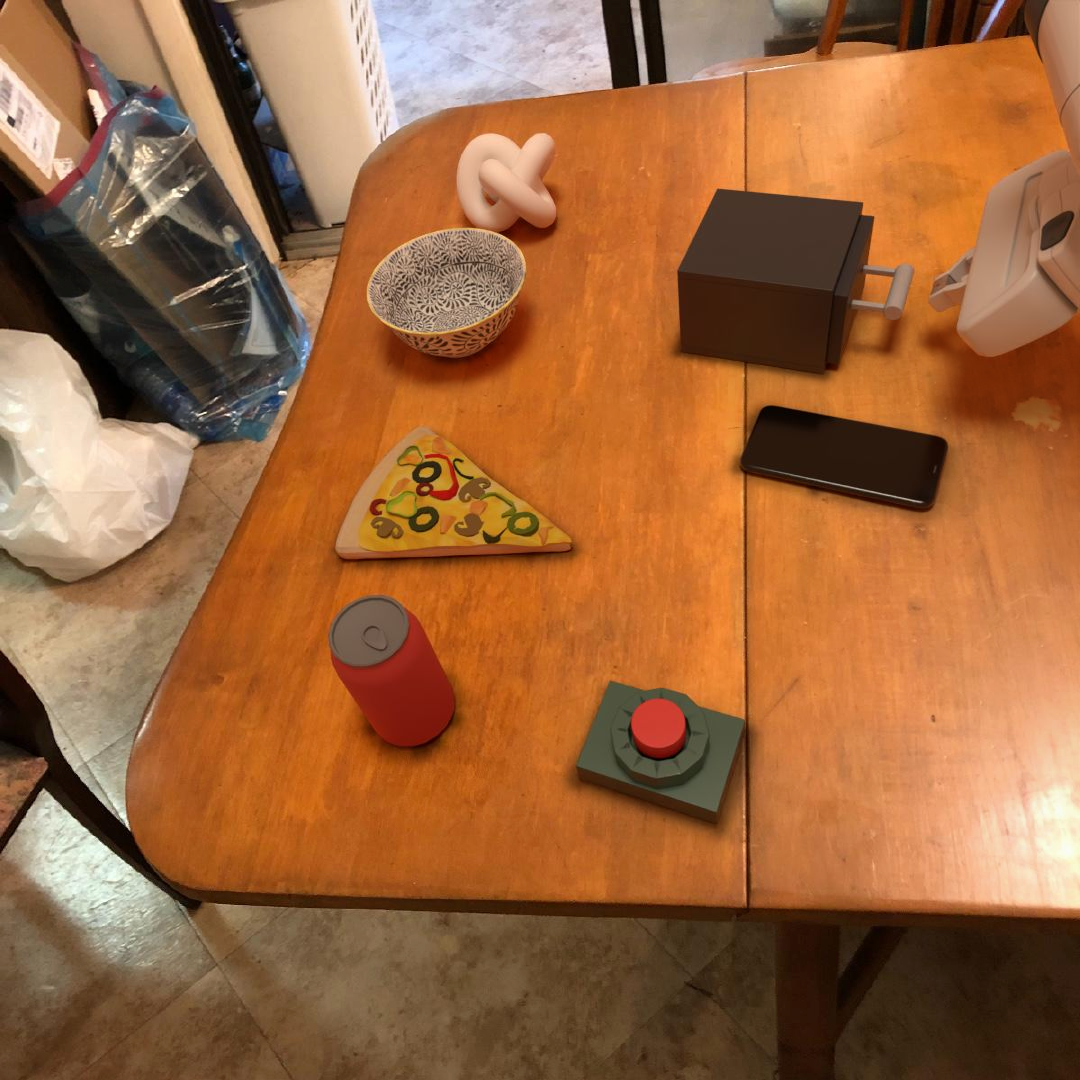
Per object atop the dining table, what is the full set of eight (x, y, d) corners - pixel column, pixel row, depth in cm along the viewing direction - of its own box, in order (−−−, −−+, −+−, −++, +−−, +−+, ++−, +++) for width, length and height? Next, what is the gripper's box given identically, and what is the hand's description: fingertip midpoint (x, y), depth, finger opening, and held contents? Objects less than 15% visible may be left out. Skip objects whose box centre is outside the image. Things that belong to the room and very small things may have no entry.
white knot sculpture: (455, 252, 106) (436, 181, 99) (474, 189, 113) (458, 119, 106) (553, 248, 104) (540, 175, 97) (566, 184, 111) (556, 112, 104)
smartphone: (736, 472, 81) (931, 514, 75) (736, 465, 80) (933, 507, 74) (762, 408, 85) (949, 443, 79) (762, 401, 84) (951, 436, 78)
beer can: (403, 767, 69) (352, 691, 60) (357, 708, 73) (302, 628, 63) (473, 711, 71) (435, 628, 62) (425, 656, 75) (381, 571, 65)
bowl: (569, 316, 97) (559, 255, 91) (467, 412, 91) (449, 353, 85) (457, 269, 104) (441, 210, 98) (356, 355, 98) (333, 298, 92)
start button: (693, 718, 64) (692, 707, 63) (676, 765, 62) (675, 754, 61) (642, 703, 65) (641, 692, 64) (625, 749, 64) (623, 738, 62)
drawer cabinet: (852, 287, 93) (863, 202, 85) (823, 374, 86) (832, 290, 79) (717, 270, 97) (717, 188, 90) (680, 351, 91) (676, 270, 83)
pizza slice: (412, 431, 90) (404, 409, 88) (609, 484, 82) (606, 461, 80) (324, 555, 82) (313, 535, 80) (532, 626, 75) (526, 605, 72)
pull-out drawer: (911, 291, 90) (925, 220, 84) (889, 372, 84) (902, 303, 78) (738, 269, 96) (739, 202, 89) (705, 344, 90) (704, 277, 84)
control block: (744, 733, 67) (746, 707, 64) (716, 824, 63) (716, 802, 60) (612, 694, 70) (607, 667, 67) (579, 778, 67) (572, 755, 63)
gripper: (1081, 107, 76) (932, 202, 87) (1056, 264, 65) (890, 350, 76) (1125, 161, 78) (973, 248, 89) (1108, 323, 67) (939, 398, 78)
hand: (935, 296), depth 82 cm, fingers closed
